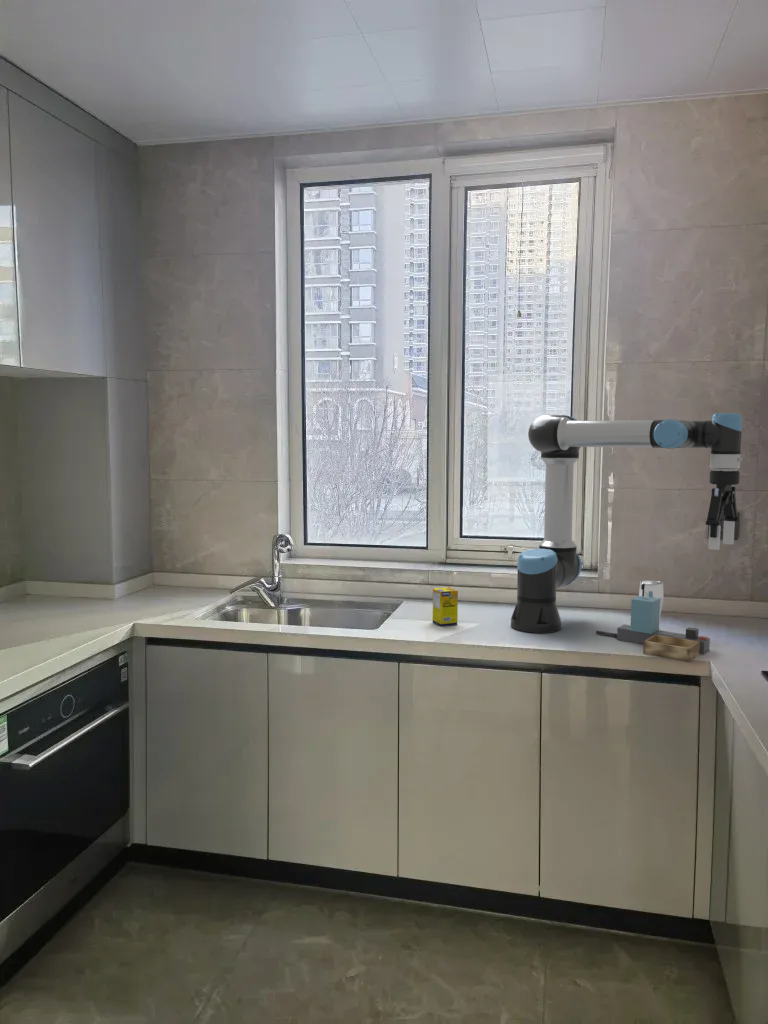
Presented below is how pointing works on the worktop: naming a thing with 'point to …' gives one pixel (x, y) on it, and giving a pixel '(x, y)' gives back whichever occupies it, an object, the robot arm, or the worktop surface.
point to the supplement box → (445, 606)
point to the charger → (645, 614)
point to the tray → (671, 648)
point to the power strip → (640, 637)
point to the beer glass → (652, 591)
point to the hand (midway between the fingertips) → (721, 546)
